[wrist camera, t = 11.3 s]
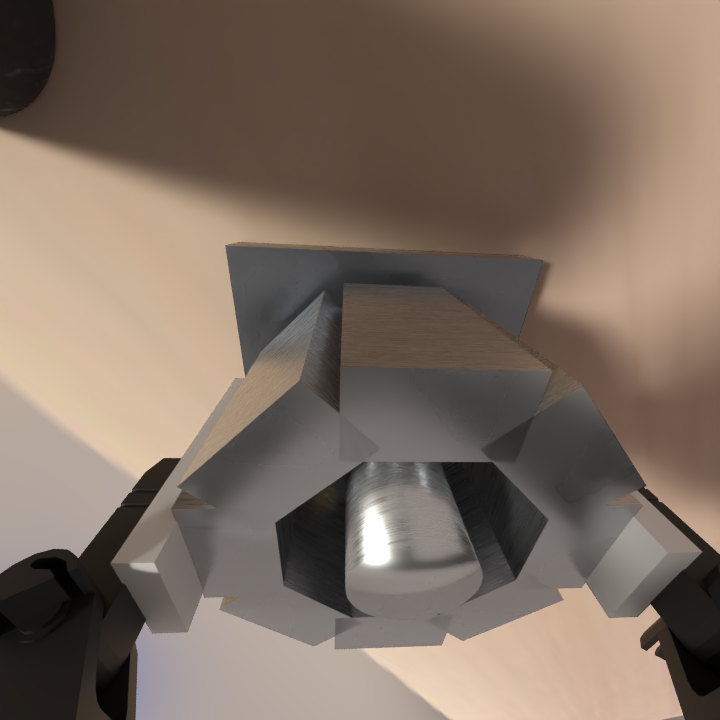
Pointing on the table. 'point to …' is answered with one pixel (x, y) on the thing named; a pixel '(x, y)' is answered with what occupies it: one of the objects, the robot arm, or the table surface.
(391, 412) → the ring
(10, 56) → the travel mug
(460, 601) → the shaft block
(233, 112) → the table surface
